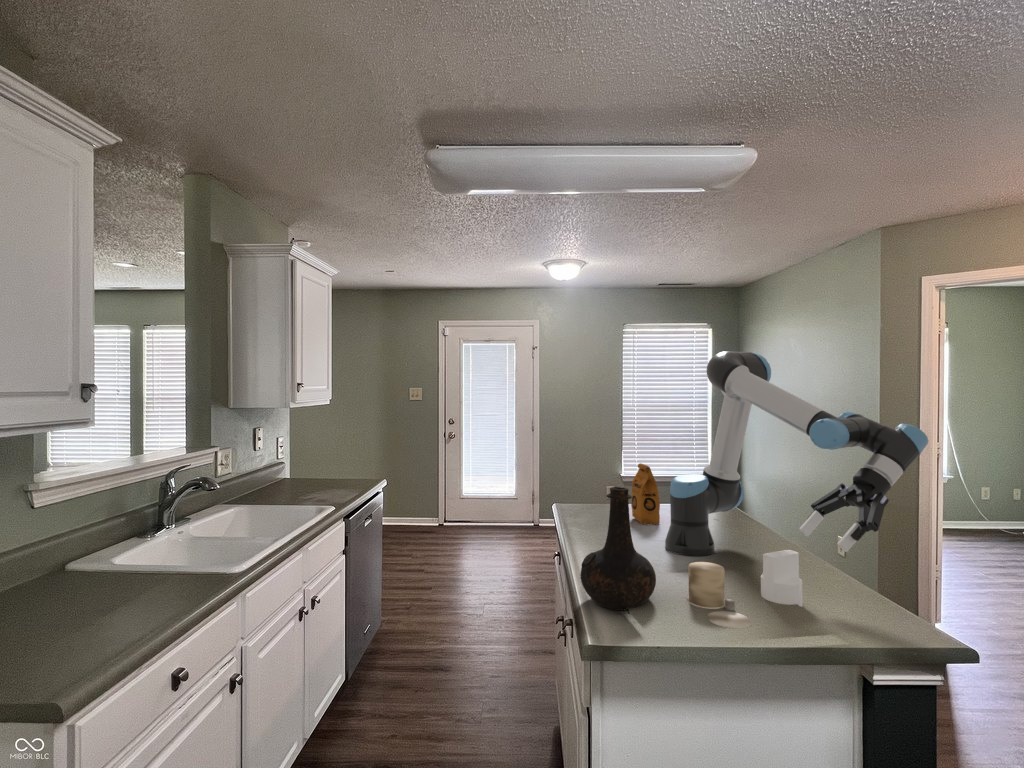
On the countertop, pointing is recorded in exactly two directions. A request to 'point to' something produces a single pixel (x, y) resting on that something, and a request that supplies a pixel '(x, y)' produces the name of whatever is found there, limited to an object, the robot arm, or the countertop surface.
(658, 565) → the countertop surface
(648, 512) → the coffee package
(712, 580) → the oak cylinder
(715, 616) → the board
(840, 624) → the countertop surface
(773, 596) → the cylinder with rectangular tab
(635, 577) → the glass bottle
